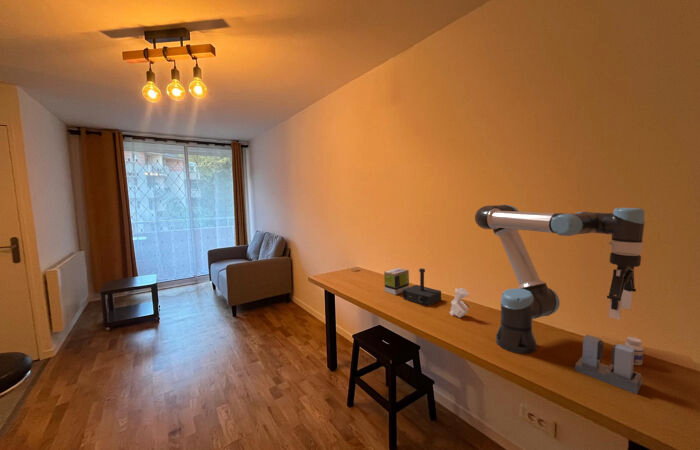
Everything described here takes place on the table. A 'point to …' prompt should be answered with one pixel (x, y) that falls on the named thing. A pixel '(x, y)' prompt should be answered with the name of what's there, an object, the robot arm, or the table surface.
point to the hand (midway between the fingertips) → (620, 313)
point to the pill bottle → (636, 349)
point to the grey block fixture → (603, 366)
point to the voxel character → (459, 303)
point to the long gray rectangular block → (623, 360)
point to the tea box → (396, 280)
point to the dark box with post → (422, 293)
